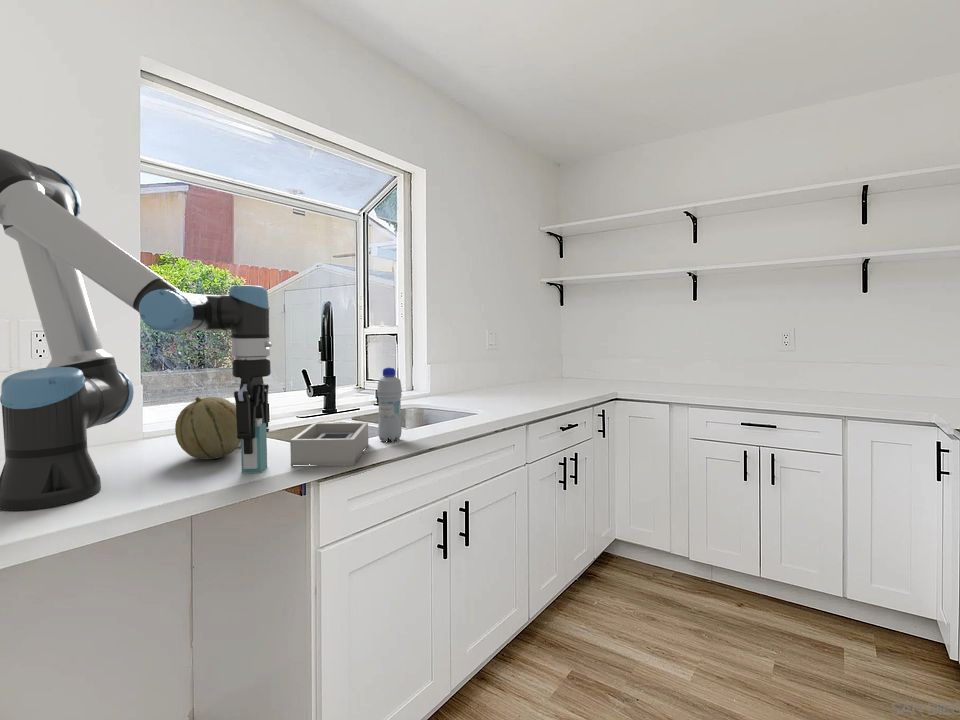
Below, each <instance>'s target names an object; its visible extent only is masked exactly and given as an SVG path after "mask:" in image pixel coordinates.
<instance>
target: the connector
mask: <svg viewBox="0 0 960 720" xmlns="http://www.w3.org/2000/svg"><path fill="white" fill-rule="evenodd" d="M266 429H267V428H266V423H262V418H255V437H254V438H257V466H258V468H256V469H243V443H242V439H241V447H240V456H241V457H240V462H241V473H242V474H257V473H259V474H260V473H263V472H264V471H265V470H266V469H268V447H267V445H268V443H267V439H268V437H267V432H266Z"/></svg>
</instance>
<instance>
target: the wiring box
mask: <svg viewBox="0 0 960 720" xmlns="http://www.w3.org/2000/svg"><path fill="white" fill-rule="evenodd" d="M289 443H290V445H289V446H290V449H289V450H290V467H291V466H293V465H309V464H310V465H317V466H316V467H350V466H351V467H353V466H355V465H356V464H357V463H358V461H359V460H360V458H361V456H362V455H363V454H362V452H363V450H364V449H365V448H366V447H367V448H368V446H369V422H313V423H312V424H311V425H309V426H308V427H307V428H304V429H303V430H302V431H301V432H299V433H298V434H296V435H295V436H293V438H291V439H290V441H289ZM367 445H368V446H367ZM367 448H366V449H367ZM366 449H365V450H366ZM363 453H364V452H363ZM361 454H362V455H361Z"/></svg>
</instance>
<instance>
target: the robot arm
mask: <svg viewBox="0 0 960 720" xmlns="http://www.w3.org/2000/svg"><path fill="white" fill-rule="evenodd" d="M81 211H82V200H81V196H80V194H79V192H78V190H77V188H76V186H74V184H73V183H72V182H71V181H70V180H69V179H68V178H66V177H65V176H64V175H62V174H61V173H59V172H57V171H56V170H55V169H52V168H50V167H48V166H45V165H41V164H37V163H36V162H33V161H30V160H28V159H26V158H24V157H22V156H19V155H17V154H15V153H13V152H11V151H8V150H7V149H6V150H5V149H2V148H0V225H2V228H3V231H4V234H5V235H6V236H8V237H9V238H11V239H13V240H15V241H16V242H17V243H18V247H19V250H20V256H21V257H22V260H23V264H24V268H25V271H26V275H27V278H28V282H29V285H30V288H31V292H32V294H33V295H32V296H33V299H34V301H35V305H36V309H37V312H38V316H39V318H40V319H39V320H40V322H41V327H42V329H43V333H44V336H45V340H46V343H47V346H48V350H49V353H50V356H51V361H49V363H48V365H46V367H42V368H36V369H29V370H23V371H19V372H18V371H17V372H14V373H13V374H9V375H8V376H6V377H5V378H4V379H3V380H2V383H1V391H0V393H1V394H0V404H1V414H2V415H1V416H2V429H3V442H4V443H3V444H4V458H5V459H4V460H5V461H4V464H3V468H2V470H1V473H0V510H2V509H5V510H4V511H28V510H39V509H47V508H52V507H57V506H62V505H66V504H72V503H74V502H78V501H82V500H83V499H87V498H90V497H92V496H95V495H96V494H97V493H99V492H100V491H101V490H102V489H101V488H102V486H101V485H102V484H101V483H102V482H101V476H100V474H98V471H97V469H96V466H95V463H94V461H93V459H92V457H91V455H90V453H89V451H88V449H89V448H88V438H87V437H88V435H87V434H88V432H87V431H88V430H89V429H91V428H94V427H96V426H101V425H106V424H108V423H109V424H110V422H112V421H114V420H115V419H117V418H119V417H121V416H122V415H124V414H125V412H127V411H128V409H129V408H130V407H131V404H132V401H133V399H134V393H135V392H134V386H133V384H132V381H131V379H130V377H129V376H128V375H127V374H125V373H123V371H121V370H119V369H118V367H117V363H116V360H115V357H114V355H112V354H111V353H108V352H107V351H105V350H104V348H103V346H102V342H101V338H100V335H99V330H98V329H97V324H96V320H95V318H94V314H93V310H92V306H91V303H90V299H89V297H88V293H87V289H86V285H85V282H84V278H83V276H82V274H83V275H84V276H86V277H87V278H89V279H90V280H91V281H93V282H94V283H96V284H97V285H99V286H100V287H102V289H104V290H106V291H107V292H109V293H110V294H112V295H114V297H115V298H117V299H119V300H120V301H122V302H123V303H124V304H126V305H128V306H129V307H130V308H132V309H134V310H135V311H136V312H138V313H139V316H140V319H141V320H142V322H143V323H144V324H145V325H146V326H148V327H149V328H150V329H153V330H155V331H159V332H164V333H177V332H198V331H199V332H201V331H230V334H231V338H230V339H231V340H230V341H231V343H230V344H231V357H233V358H234V359H233V360H232V362H231V366H232V369H231V370H232V376H233V377H234V378H239V379H240V384H239V389H238V390H235V391H234V392H233V397H234V401H235V402H234V403H236V419H237V438H238V439H242V443H243V469H256V468H258V466H257V438H254V437H255V418H262V423H266V433H269V432H270V428H269V387H270V386H269V384H267V383H266V384H265V383H264V377H269V376H270V375H271V359H270V358H268V357H269V356H271V352H270V351H271V349H270V348H271V347H272V346H273V345H272V344H273V343H272V342H270V306H269V294H268V290H267V289H266V287H264V286H261V285H248V284H246V285H245V284H244V285H243V284H242V285H241V284H239V285H238V284H237V285H232V286H230V287H229V292H228V294H222V295H221V294H220V295H219V294H217V295H216V294H198V293H189V292H183V291H181V290H180V289H179V288H177V287H175V286H174V285H173V284H171V283H170V282H168V281H167V280H166V279H164V278H163V277H162V276H161V275H159V274H158V273H156V272H155V271H153V270H151V269H150V268H149V267H148V266H146V265H145V264H143V263H142V262H141V261H140V260H138V259H136V258H135V257H133V256H132V255H130V253H128V252H126V251H125V250H123V249H122V248H121V247H119V246H118V245H117V244H115V243H114V242H112V241H111V240H110V239H109V238H107V237H105V236H104V235H102V233H100V232H99V231H97V230H95V229H94V228H93V227H92V226H90V225H88V223H85V221H83V220H81V219H80V218H79V217H78V215H80V214H81ZM87 429H88V430H87Z"/></svg>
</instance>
